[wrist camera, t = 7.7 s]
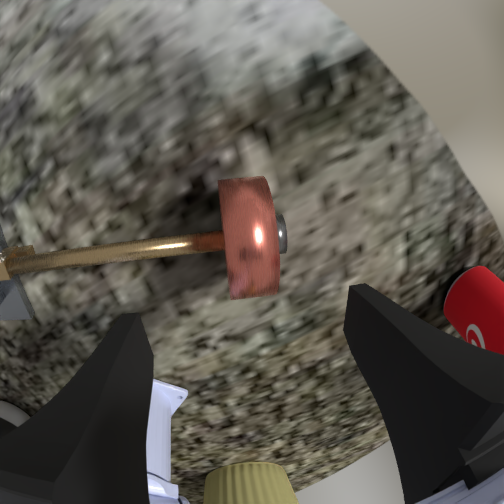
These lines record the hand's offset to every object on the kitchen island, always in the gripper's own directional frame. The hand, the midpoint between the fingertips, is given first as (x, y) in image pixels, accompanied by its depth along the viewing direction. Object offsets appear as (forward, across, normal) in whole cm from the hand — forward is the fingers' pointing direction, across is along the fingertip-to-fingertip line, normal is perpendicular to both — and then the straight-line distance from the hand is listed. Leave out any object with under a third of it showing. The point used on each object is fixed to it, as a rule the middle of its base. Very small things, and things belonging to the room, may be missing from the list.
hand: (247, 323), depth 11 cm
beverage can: (+10, -21, +10) cm, 25 cm away
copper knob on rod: (+10, +6, 0) cm, 12 cm away
